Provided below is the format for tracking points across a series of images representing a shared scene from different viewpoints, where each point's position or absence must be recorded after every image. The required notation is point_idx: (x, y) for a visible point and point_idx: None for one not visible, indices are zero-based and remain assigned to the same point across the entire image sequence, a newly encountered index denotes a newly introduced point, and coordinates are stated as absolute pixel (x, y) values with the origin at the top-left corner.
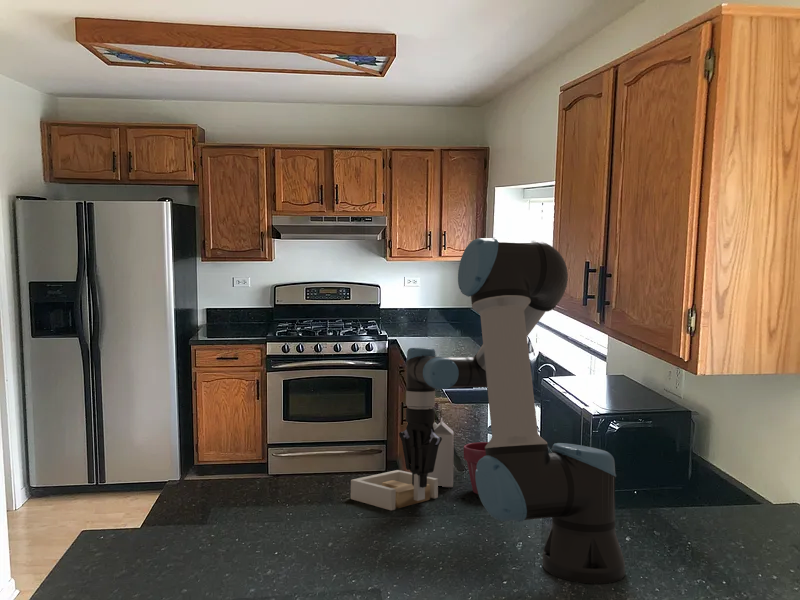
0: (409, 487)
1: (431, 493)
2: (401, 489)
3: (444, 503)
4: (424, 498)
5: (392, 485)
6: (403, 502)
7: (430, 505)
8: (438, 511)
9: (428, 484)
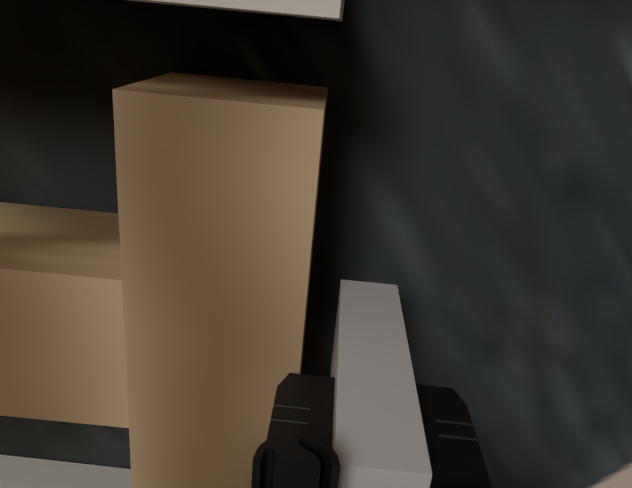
0: (225, 378)
1: (298, 16)
2: (224, 481)
3: (528, 109)
4: (395, 291)
5: (42, 418)
6: None
7: (449, 252)
8: (598, 353)
9: (299, 114)
